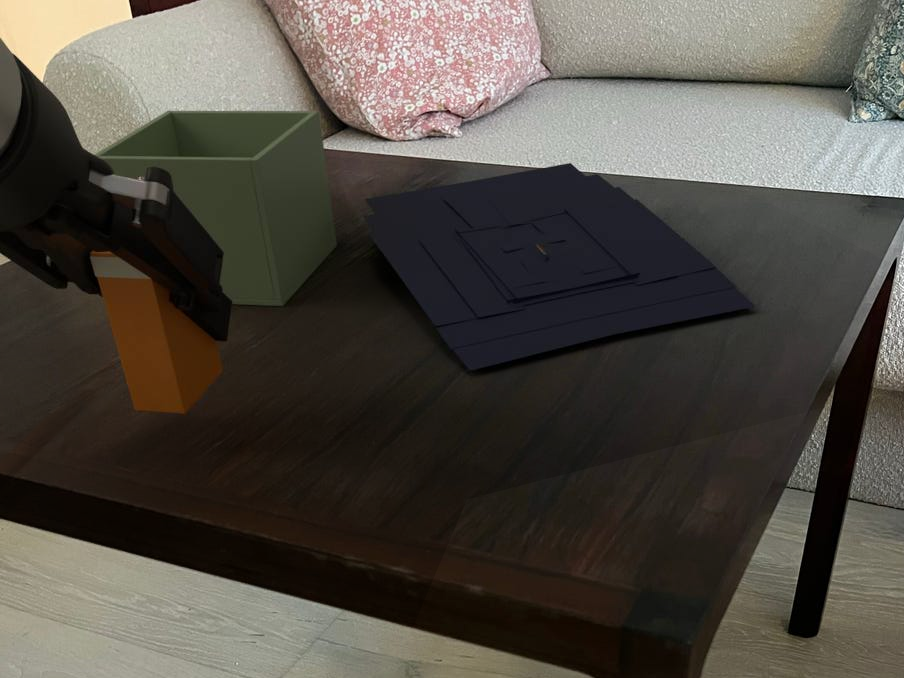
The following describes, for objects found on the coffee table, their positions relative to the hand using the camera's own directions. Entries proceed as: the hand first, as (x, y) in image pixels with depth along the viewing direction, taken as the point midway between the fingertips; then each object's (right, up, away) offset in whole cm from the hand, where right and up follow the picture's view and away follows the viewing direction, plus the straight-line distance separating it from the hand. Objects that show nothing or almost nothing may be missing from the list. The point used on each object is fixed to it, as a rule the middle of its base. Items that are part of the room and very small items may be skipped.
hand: (193, 319), depth 69 cm
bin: (-3, +12, +25) cm, 27 cm away
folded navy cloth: (+24, +10, +20) cm, 32 cm away
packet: (-1, -5, -1) cm, 5 cm away
